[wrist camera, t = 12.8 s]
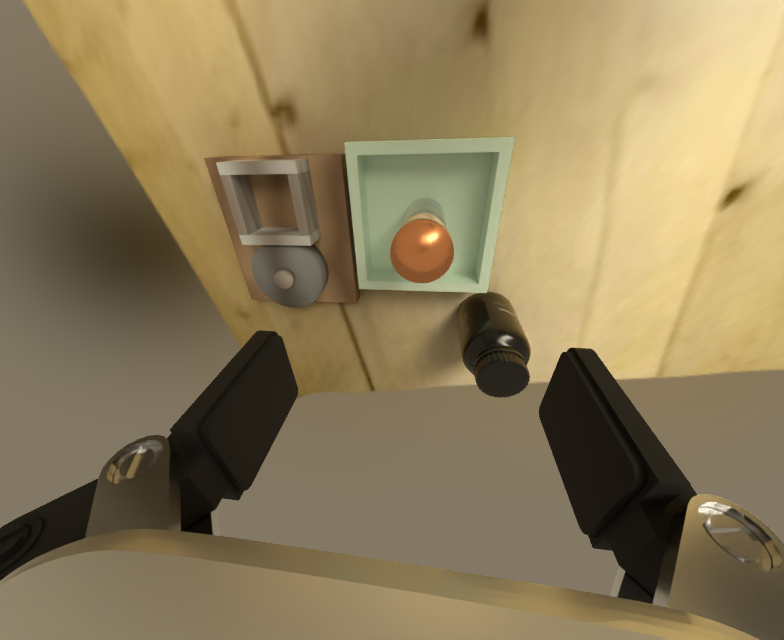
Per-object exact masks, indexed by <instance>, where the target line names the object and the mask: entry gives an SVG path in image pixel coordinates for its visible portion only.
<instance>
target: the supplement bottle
mask: <svg viewBox="0 0 784 640" xmlns="http://www.w3.org/2000/svg"><path fill="white" fill-rule="evenodd" d="M458 327H459V335H460V344H461V352H462V359H463V362H464V364H465V366H466V368H467V369H468V370H469V371H470V372H471V373H472V374H474V376H475V380H476V383H477V386H478V387H479V389H481V390H482V392H484V393H485V394H487V395H489V396H493V397H510V396H513V395H515V394H518V393H520V392H521V391H523V389H524V388H526V386H527V385H528V382H529V378H530V375H529V371H528V368H527V363H528V361H529V359H530V354H531V349H530V345H529V342H528V340H527V337H526V335H525V333H524V331H523V329H522V326H521V324H520V322H519V320H518V318H517V316H516V313H515V311H514V309H513V307H512V305H511V303H510V302H509V301H508V300H507V299H506V298H505V297H504V296H502V295H500V294H497V293H494V292H487V293H478V294H475V295H473V296H471V297H469V298H468V299H467V300H465V301H464V303H463V304H462V305H461V307H460V309H459V312H458Z"/></svg>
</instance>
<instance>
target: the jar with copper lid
mask: <svg viewBox="0 0 784 640" xmlns="http://www.w3.org/2000/svg"><path fill="white" fill-rule="evenodd" d="M453 257H454V247H453V242H452V238H451V236H450V234H449V232H448V231H447V229H446V224H445V217H444V211H443V209H442V207H441V205H440V204H439V203H438V202H437V201H436V200H434V199H432V198H420V199H417V200H415V201H414V202H413V203H412V204H411V205H410V206H409V208H408V210H407V213H406V216H405V219H404V222H403V225H402V227H401V228H400V229H399V230H398V231H397V233H396V234H395V236H394V239H393V241H392V244H391V249H390V258H391V262H392V265H393V267H394V269H395V270H396V271H397V273H398V274H399V275H400V276H402V277H403V278H404V279H406V280H408V281H411V282H414V283H429V282H433V281H435V280H437V279H439V278H440V277H442V276H443V275H444V274H445V273H446V272H447V271H448V269H449V268H450V266H451V264H452V261H453Z"/></svg>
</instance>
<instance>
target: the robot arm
mask: <svg viewBox="0 0 784 640" xmlns="http://www.w3.org/2000/svg"><path fill="white" fill-rule="evenodd" d="M297 394H298V387H297V384H296V381H295V378H294V374H293V371H292V368H291V365H290V362H289V358H288V355H287V352H286V349H285V346H284V342H283V339H282V337H281V336H278V334H277V333H276V332H274V331H257V332H256V333H255V334H254V335H253V336H252V337H251V338H250V340H249V341H248V342H247V343H246V344H245V345H244V346H243V347H242V349H241V350H240V351H239V352H238V353H237V354H236V355H235V356H234V358H233V359H232V360H231V361H230V362H229V363H228V364H227V366H226V367H225V368H224V369H223V370H222V371H221V372H220V373H219V375H218V376H217V377H216V378H215V379H214V380H213V381H212V382H211V384H210V385H209V386H208V387H207V388H206V389H205V390H204V392H203V393H202V394H201V395H200V396H199V397H198V398H197V399H196V401H195V402H194V403H193V404H192V405H191V406H190V407H189V408H188V410H187V411H186V412H185V413H184V414H183V415H182V416H181V418H180V419H179V420H178V421H177V422H176V423H175V424H174V425H173V427H172V428H171V429H170V431H171V432H172V433H171V434H170V436H169V437H168V438H166V437H164V436H161V435H151V436H146V437H143V438H140V439H137V440H136V441H134V442H131V443H129V444H128V445H126V446H125V447H123V448H122V449H120V450H119V451H118V452H117V453H115V454H114V456H112V457H111V458H110V459H109V460H108V462H107V463H106V464H105V466H104V467H103V468H102V470H101V473H100V475H99V478H98V479H96V480H94V481H92V482H90V483H88V484H86V485H84V486H82V487H80V488H78V489H76V490H74V491H72V492H69V493H67V494H65V495H63V496H61V497H59V498H57V499H55V500H53V501H51V502H49V503H47V504H45V505H43V506H41V507H39V508H37V509H35V510H33V511H31V512H29V513H27V514H24V515H23V516H20V517H19V518H17V519H15V520H13V521H11V522H10V523H8V524H6V525H4V526H3V527H1V528H0V640H784V543H783V542H782V541H781V540H780V539H779V537H778V536H777V535H776V534H775V533H774V532H773V531H772V530H771V529H770V528H769V527H768V526H767V525H766V524H764V523H763V522H762V521H761V520H760V519H758V518H757V517H756V516H755V515H753V514H751V513H750V512H749V511H747V510H745V509H744V508H742V507H741V506H739V505H737V504H735V503H733V502H731V501H729V500H726V499H724V498H721V497H717V496H714V495H706V494H699V495H697V494H696V492H695V491H694V490H693V488H692V487H691V484H690V483H689V481H688V480H687V479H686V477H685V476H684V474H683V473H682V472H681V470H680V469H679V468H678V466H677V465H676V463H675V462H674V461H673V459H672V458H671V457H670V455H669V454H668V452H667V451H666V449H665V448H664V447H663V446H662V444H661V443H660V441H659V440H658V439H657V437H656V436H655V434H654V433H653V432H652V430H651V429H650V427H649V426H648V425H647V423H646V422H645V420H644V419H643V418H642V416H641V415H640V413H639V412H638V411H637V410H636V408H635V407H634V405H633V404H632V403H631V401H630V400H629V398H628V397H627V395H626V394H625V393H624V391H623V390H622V389H621V387H620V386H619V385H618V383H617V382H616V380H615V379H614V377H613V376H612V375H611V373H610V372H609V371H608V369H607V368H606V366H605V365H604V364H603V362H602V361H601V359H600V358H599V357H598V355H597V354H596V353H595V351H594V350H592V349H585V348H570V349H568V351H567V352H563V353H562V354H561V356H560V358H559V361H558V363H557V366H556V368H555V371H554V373H553V375H552V378H551V380H550V383H549V385H548V388H547V390H546V393H545V395H544V398H543V400H542V402H541V405H540V408H539V417H540V420H541V423H542V425H543V428H544V431H545V434H546V436H547V439H548V442H549V445H550V447H551V450H552V453H553V456H554V459H555V461H556V464H557V467H558V470H559V472H560V475H561V478H562V480H563V483H564V486H565V489H566V491H567V494H568V497H569V500H570V502H571V505H572V508H573V511H574V513H575V516H576V519H577V522H578V524H579V527H580V529H581V530H582V532H583V533H584V534H586V535H588V536H589V539H590V542H591V544H592V547H593V548H596V549H604V550H612V551H613V552H614V555H615V557H616V559H617V562H618V564H619V569H618V572H617V575H616V578H615V581H614V584H613V587H612V590H611V593H610V596H606V595H600V594H595V593H589V592H583V591H577V590H572V589H566V588H560V587H554V586H548V585H541V584H535V583H528V582H522V581H516V580H509V579H503V578H497V577H490V576H484V575H478V574H471V573H465V572H458V571H452V570H446V569H439V568H432V567H425V566H419V565H413V564H406V563H400V562H393V561H387V560H380V559H373V558H367V557H359V556H353V555H347V554H340V553H334V552H327V551H320V550H314V549H307V548H300V547H293V546H286V545H279V544H272V543H266V542H259V541H252V540H245V539H238V538H232V537H224V536H220V531H219V522H218V513H217V506H218V504H219V503H220V501H221V499H222V498H225V499H232V500H239V499H240V497H241V495H242V493H243V492H244V490H247V489H249V487H250V486H251V485H252V483H253V481H254V479H255V477H256V475H257V473H258V471H259V469H260V467H261V465H262V463H263V461H264V460H265V457H266V456H267V454H268V452H269V450H270V448H271V446H272V444H273V442H274V440H275V438H276V436H277V434H278V433H279V431H280V429H281V427H282V425H283V423H284V421H285V419H286V417H287V415H288V413H289V411H290V409H291V407H292V405H293V403H294V402H295V400H296V398H297Z"/></svg>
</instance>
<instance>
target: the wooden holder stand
mask: <svg viewBox="0 0 784 640" xmlns="http://www.w3.org/2000/svg"><path fill="white" fill-rule="evenodd" d="M204 159H205V162H206V165H207V168H208V171H209V174H210V177H211V180H212V183H213V185H214V188H215V191H216V194H217V197H218V200H219V203H220V206H221V209H222V212H223V215H224V218H225V221H226V224H227V227H228V230H229V233H230V236H231V238H232V241H233V244H234V247H235V250H236V253H237V256H238V259H239V262H240V265H241V268H242V271H243V274H244V277H245V280H246V283H247V286H248V288H249V291H250V294H251V297H252V299H259V300H273V301H275V302H276V303H278V304H281V305H283V306H287V307H293V308H299V307H304V306H307V305H309V304H311V303H313V302H340V303H357V302H358V300H359V297H360V289H359V284H358V274H357V264H356V254H355V244H354V234H353V224H352V214H351V204H350V194H349V184H348V174H347V164H346V154H311V155H272V156H233V157H211V158H204Z"/></svg>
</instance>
